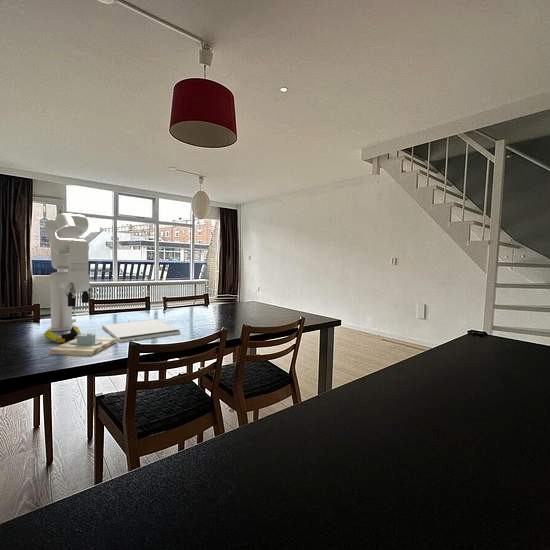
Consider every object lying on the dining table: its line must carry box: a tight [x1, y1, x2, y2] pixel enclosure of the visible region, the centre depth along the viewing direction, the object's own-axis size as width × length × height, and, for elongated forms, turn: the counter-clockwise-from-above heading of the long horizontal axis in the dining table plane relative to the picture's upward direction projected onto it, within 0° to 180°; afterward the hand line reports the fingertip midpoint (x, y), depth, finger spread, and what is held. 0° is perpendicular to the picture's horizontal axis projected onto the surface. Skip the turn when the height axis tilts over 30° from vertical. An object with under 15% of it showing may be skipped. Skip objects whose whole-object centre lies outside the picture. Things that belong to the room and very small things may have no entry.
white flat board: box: [101, 318, 181, 343], centre depth 178 cm, size 35×2×31 cm
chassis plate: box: [49, 337, 118, 357], centre depth 145 cm, size 20×18×2 cm
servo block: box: [70, 331, 102, 346], centre depth 144 cm, size 4×12×7 cm, turn 89°
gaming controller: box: [43, 325, 82, 344], centre depth 155 cm, size 15×6×10 cm
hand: (78, 304), depth 145 cm, fingers open, 9 cm apart
